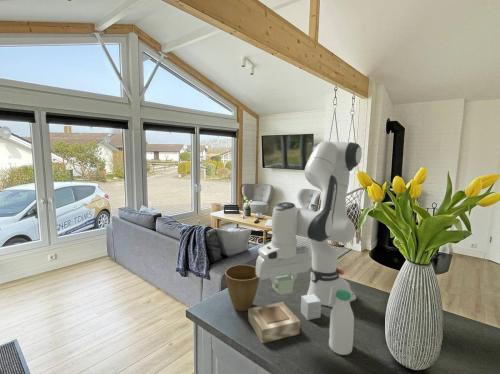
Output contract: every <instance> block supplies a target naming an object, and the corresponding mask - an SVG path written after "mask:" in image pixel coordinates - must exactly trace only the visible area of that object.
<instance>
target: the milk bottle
mask: <svg viewBox="0 0 500 374" xmlns="http://www.w3.org/2000/svg"><path fill="white" fill-rule="evenodd" d="M350 298H351V294H350V293H349V292H348V291H346V290H338V291H337V292H336V299H337V300H336V303H335V305H334V306H333V307H331V308H332V309H331V311H330V316H329V334H328V346H329V348H330V350H331V351H333V352H334V353H335V354H338V355H339V356H340V355H341V356H347V355H350V354H351V353H352V351H353V347H354V346H353V345H354V331H355V329H354V328H355V316H354V311H353V309H352V307H351V302H350Z"/></svg>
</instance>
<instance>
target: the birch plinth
mask: <svg viewBox="0 0 500 374" xmlns="http://www.w3.org/2000/svg"><path fill="white" fill-rule="evenodd" d="M247 311H248V316H247V317H248V319H247V320H248V322H249V324H250V326H251V327H252V329H253V330H254V332H255V334H256V335H257V337H258V339H259V341H260V342H261V344H265V343H270V342H272V341H276V340H277V341H278V340H281V339H284V338H288V337H292V336H297V335H300V331H301V329H300V328H301V320H300V319H299V318H298V317H297V316H296V315H295V314H294V313H293V312H292V311H291V309H290V308H289V307H288V306H287V305H286V304H285V303H284V302H283V301H279V302H274V303H270V304H265V305H260V306H259V305H258V306H255V307H251V308H249V309H248V310H247Z"/></svg>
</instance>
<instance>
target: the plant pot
mask: <svg viewBox="0 0 500 374" xmlns="http://www.w3.org/2000/svg"><path fill="white" fill-rule="evenodd" d="M224 274H225V280H226V286H227V291H228V294H229V298H230V301H231V303H232V306H233V308H234V310H236V311H238V312H247V311H248V309H249V308H252V305H253V303H254V301H255V298H256V295H257V290H258V287H259V283H260V279H259V278H258V277H257V275H256V266H253V265H250V264H236V265H232V266H229V267H227V269H226V270H225V272H224Z"/></svg>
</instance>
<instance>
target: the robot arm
mask: <svg viewBox="0 0 500 374" xmlns="http://www.w3.org/2000/svg"><path fill="white" fill-rule="evenodd" d="M362 153H363V152H362V147H361V145H360V144H359V143H357V142H352V141H351V142H350V141H349V142H346V141H329V140H328V141H327V140H325V141H321V142H318V143H315V144H314V145H312V147H311V150H310V156H309V158H308V160H307V162H306V164H305V167H304V177H305V179H306V181H308V183H309V185H311V186H313V187H315V188H317V189H319V190H320V191H321V192H320V196H319V199H320V208H319V210H317V211H312V210H311V211H310V210H306V209H301V208H298V207H297V206H296V204H295V203H292V202H290V201H289V202H287V201H285V202H284V201H283V202H279V203H277V204H275V205H274V207H273V210H272V215H271V216H272V217H271V231H272V237H271V239H270V240H271V241H270V242H268V243H267V244H266V245H265V244H264V245H263V246H261V247H259V248H257V249H258V250H257V253H258V256H257V258H256V261H255V267H256V275H257V277H258V278H259V280H260V281H261V280H262V281H263V280H270V281H271V287H272V288H273V290H275V288H278V283H277V282H275V281H274V280H275V277H280V276H285V275H289V276H290V277H291V278H292V279H293V286H294V285H295V280H296V279H297V276H298V274H301V273H306V272H310V273H309V275H310V281H309V286H308V290H307V293H306V295H310V294H314V295H315V296H316V297H317V298H318V299H319V300H320V301H321V306H327V307H329V308H333V306H334V305H335V303H336V300H337V299H336V292H337V291H338V290H346V291H348V292H349V293H350V294H351V298H350V303H351V302H353V301H356V300H357V295H356V294H355V293H354V291H352V290H351V285H350V283H349V282H348V281H346V280H345V279H344V278H343V277H342V276H343V275H344V274H345V271H344V270H342V269H339V268H338V267H337V264H338V253H337V251H336V249H335V248H334V247H333V246H331V244H330V243H329V241H330V242H335V243H342V244H343V243H345V244H346V243H350V242H351V241H352V240H353V239H354V238H355V235H356V226H355V224H354V222H353V221H352V220H351V219H350V217H349V216H348V214H347V211H346V199H347V194H348V190H349V185H350V178H351V177H350V171H352V170H353V169H354V168H356V167H357V166H358V165H359V164H360V163H361V161H362V156H363V154H362ZM297 236H298V237H303V238H306V239H307V241H308V244H309V247H310V249H309V248H308V247H307V246H306V245H302V246H297V242H298V241H297V240H298V239H297ZM310 250H311V263H310Z"/></svg>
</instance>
